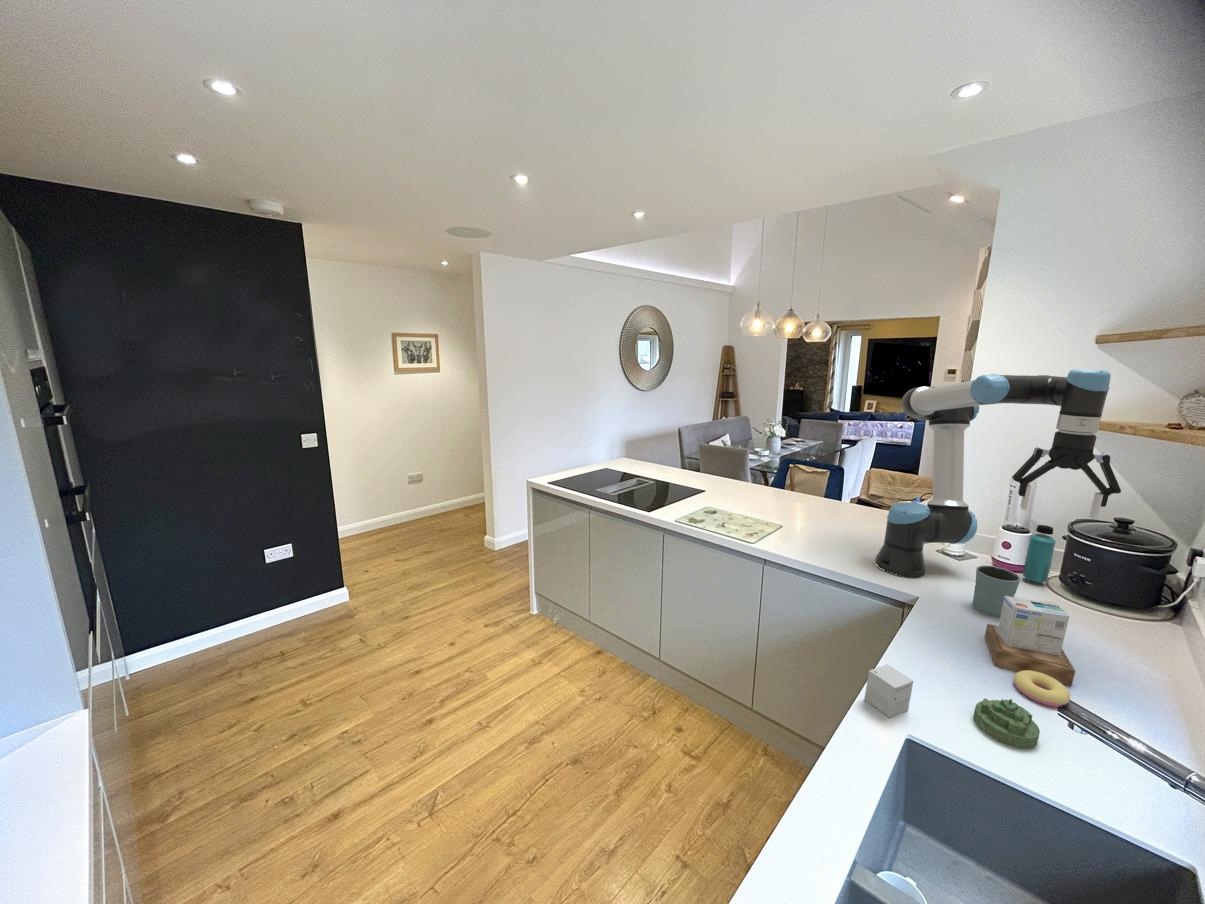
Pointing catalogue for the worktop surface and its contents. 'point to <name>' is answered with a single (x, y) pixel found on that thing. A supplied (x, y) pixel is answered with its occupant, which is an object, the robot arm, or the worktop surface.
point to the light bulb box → (1033, 625)
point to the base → (1028, 658)
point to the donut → (1041, 688)
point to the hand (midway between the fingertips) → (1057, 513)
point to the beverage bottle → (1039, 555)
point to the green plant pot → (993, 588)
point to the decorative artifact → (1007, 723)
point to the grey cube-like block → (888, 690)
